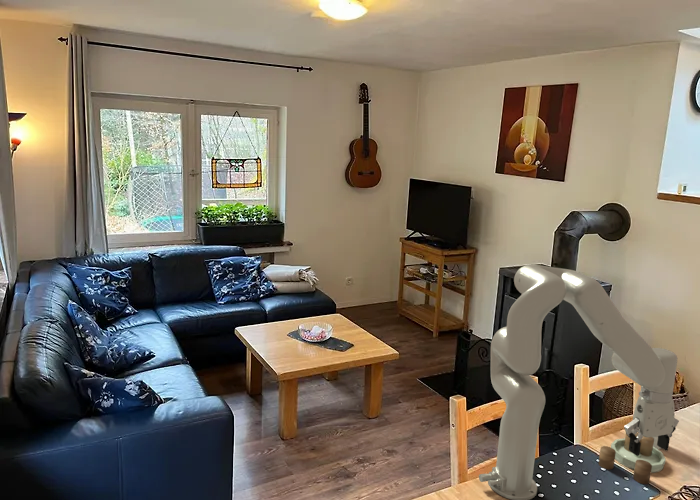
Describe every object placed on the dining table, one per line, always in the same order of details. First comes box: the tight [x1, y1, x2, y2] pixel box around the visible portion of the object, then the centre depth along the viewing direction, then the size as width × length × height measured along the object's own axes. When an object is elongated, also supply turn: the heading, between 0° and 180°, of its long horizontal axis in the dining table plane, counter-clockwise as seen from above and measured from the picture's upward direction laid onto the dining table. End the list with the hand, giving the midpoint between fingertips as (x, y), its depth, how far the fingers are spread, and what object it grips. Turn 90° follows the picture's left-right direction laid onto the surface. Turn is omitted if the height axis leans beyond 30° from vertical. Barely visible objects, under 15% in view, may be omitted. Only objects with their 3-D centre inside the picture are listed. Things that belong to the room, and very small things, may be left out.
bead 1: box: [597, 445, 616, 470], centre depth 154 cm, size 4×4×5 cm
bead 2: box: [632, 460, 652, 485], centre depth 148 cm, size 4×4×5 cm
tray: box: [610, 432, 666, 474], centre depth 158 cm, size 14×14×6 cm
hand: (648, 450), depth 147 cm, fingers open, 9 cm apart
